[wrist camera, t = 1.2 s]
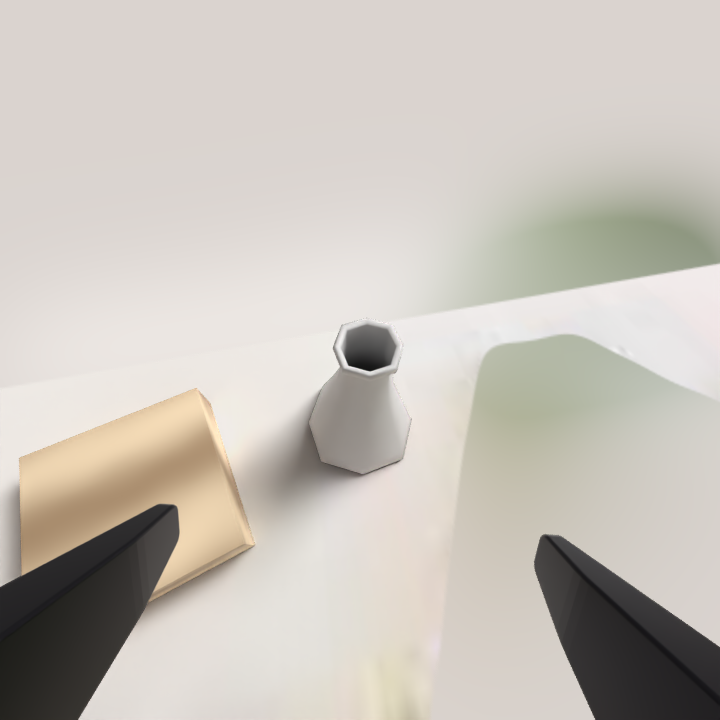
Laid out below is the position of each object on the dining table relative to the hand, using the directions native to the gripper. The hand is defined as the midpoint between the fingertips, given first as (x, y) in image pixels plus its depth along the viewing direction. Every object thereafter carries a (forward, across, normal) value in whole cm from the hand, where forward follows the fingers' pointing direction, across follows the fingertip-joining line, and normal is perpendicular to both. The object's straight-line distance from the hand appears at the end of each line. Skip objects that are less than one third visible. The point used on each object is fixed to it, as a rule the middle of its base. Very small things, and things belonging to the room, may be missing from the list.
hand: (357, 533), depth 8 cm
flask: (+15, 0, +4) cm, 16 cm away
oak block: (+11, +12, +9) cm, 19 cm away
